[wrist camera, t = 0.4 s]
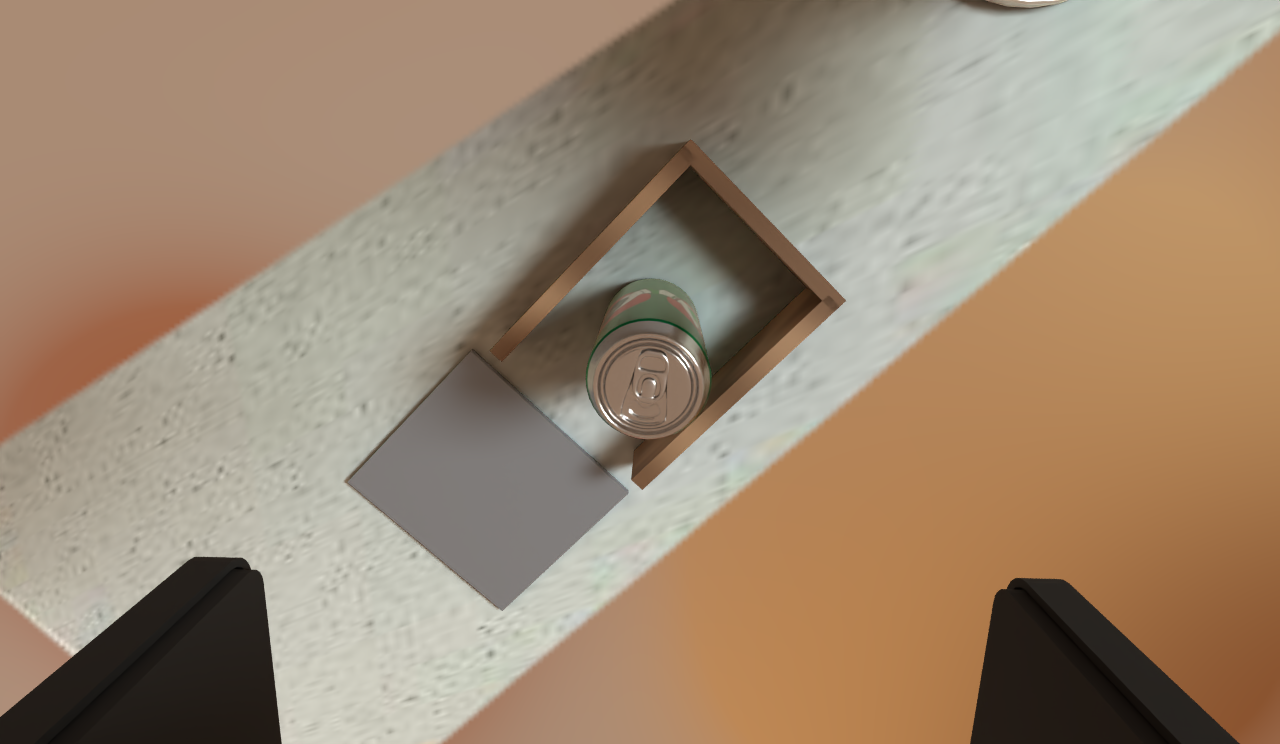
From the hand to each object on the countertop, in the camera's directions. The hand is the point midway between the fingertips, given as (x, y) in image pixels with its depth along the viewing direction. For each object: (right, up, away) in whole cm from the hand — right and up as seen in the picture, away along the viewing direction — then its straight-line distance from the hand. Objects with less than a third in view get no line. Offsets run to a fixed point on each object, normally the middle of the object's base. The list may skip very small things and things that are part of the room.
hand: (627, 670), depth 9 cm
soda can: (+1, +6, +31) cm, 32 cm away
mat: (-9, -3, +34) cm, 35 cm away
